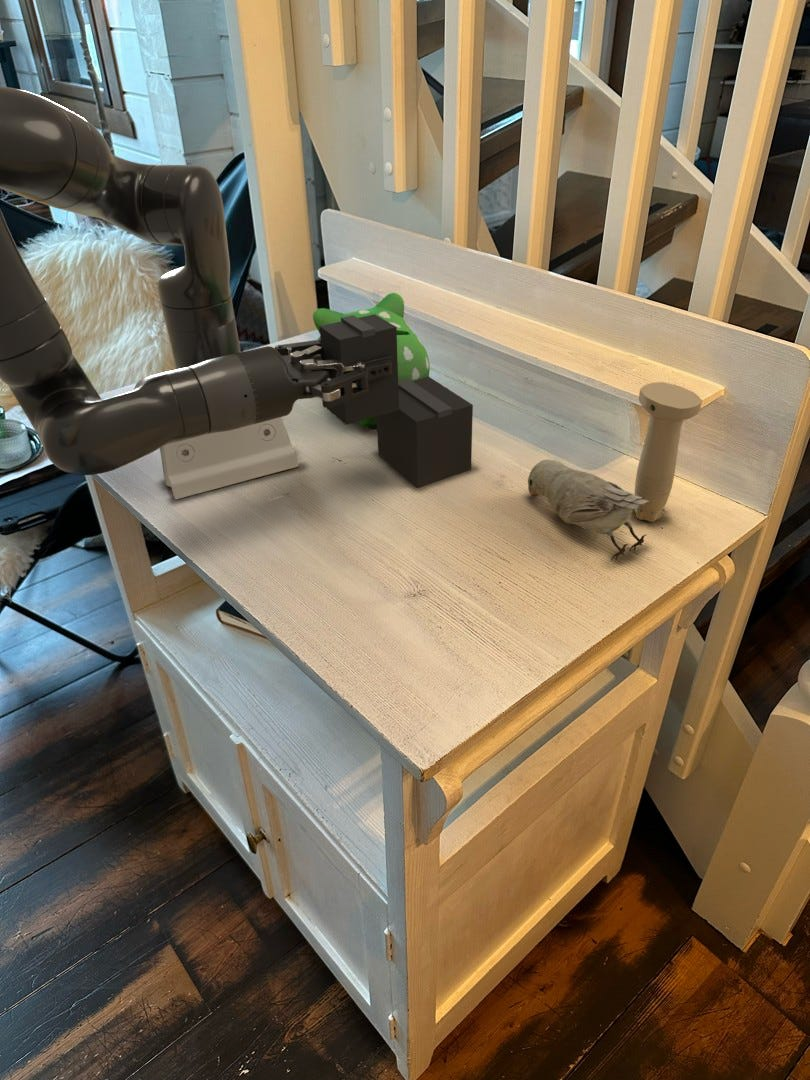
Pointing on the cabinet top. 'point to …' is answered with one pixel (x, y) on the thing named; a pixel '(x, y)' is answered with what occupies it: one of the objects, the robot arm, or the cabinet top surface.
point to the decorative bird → (585, 499)
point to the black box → (358, 344)
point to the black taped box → (427, 432)
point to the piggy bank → (408, 344)
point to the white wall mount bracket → (227, 457)
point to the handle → (661, 444)
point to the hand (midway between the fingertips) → (379, 356)
